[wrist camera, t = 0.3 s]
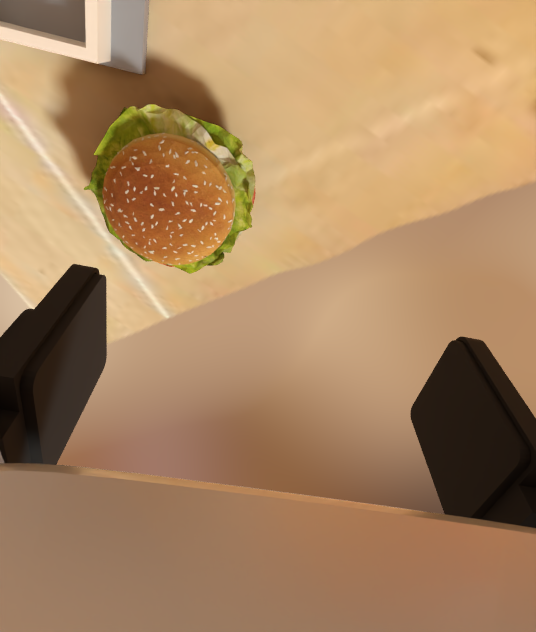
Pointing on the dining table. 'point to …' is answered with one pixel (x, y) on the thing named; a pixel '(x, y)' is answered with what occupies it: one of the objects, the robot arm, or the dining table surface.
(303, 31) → the dining table surface
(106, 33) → the board
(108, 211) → the food
